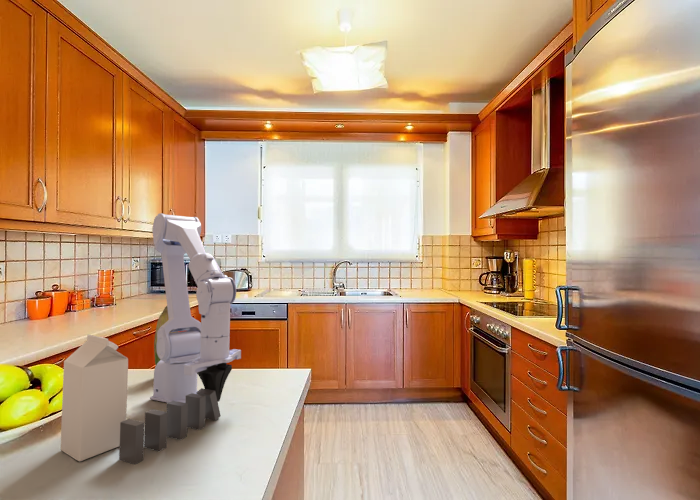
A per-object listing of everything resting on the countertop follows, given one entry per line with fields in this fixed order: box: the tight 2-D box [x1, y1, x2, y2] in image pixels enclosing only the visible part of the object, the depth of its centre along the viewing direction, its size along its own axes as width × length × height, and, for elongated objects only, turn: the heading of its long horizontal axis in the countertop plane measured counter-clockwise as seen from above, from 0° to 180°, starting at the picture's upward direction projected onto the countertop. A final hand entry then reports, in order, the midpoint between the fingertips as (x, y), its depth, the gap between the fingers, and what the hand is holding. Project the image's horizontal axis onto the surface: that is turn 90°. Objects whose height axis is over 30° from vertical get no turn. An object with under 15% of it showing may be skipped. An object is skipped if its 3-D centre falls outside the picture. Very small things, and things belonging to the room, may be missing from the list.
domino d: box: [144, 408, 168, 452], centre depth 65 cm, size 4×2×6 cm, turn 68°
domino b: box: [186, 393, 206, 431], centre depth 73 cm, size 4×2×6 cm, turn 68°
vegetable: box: [153, 305, 175, 366], centre depth 104 cm, size 6×6×20 cm
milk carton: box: [60, 334, 129, 462], centre depth 64 cm, size 7×7×19 cm
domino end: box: [118, 418, 145, 465], centre depth 60 cm, size 4×2×6 cm, turn 67°
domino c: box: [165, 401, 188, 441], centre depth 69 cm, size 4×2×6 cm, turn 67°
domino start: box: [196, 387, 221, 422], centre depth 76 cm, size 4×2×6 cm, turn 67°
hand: (213, 401), depth 78 cm, fingers closed
